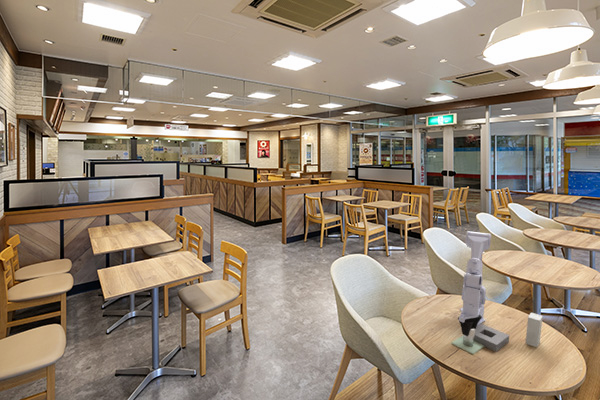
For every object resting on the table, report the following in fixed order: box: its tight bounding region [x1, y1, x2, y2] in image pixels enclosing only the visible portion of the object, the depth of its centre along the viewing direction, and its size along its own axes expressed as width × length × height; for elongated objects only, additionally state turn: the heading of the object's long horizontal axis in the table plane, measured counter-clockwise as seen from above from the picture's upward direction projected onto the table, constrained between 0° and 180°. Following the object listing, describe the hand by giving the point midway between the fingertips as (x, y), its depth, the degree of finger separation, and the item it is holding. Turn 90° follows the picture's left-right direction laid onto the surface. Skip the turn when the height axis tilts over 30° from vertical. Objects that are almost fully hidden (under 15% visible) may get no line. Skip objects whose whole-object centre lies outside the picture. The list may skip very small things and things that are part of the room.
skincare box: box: [525, 312, 543, 348], centre depth 132 cm, size 6×4×12 cm
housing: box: [474, 323, 510, 352], centre depth 135 cm, size 12×12×3 cm
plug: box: [462, 326, 475, 347], centre depth 131 cm, size 4×4×7 cm
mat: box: [451, 334, 485, 355], centre depth 131 cm, size 9×9×1 cm
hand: (468, 332), depth 130 cm, fingers open, 5 cm apart
